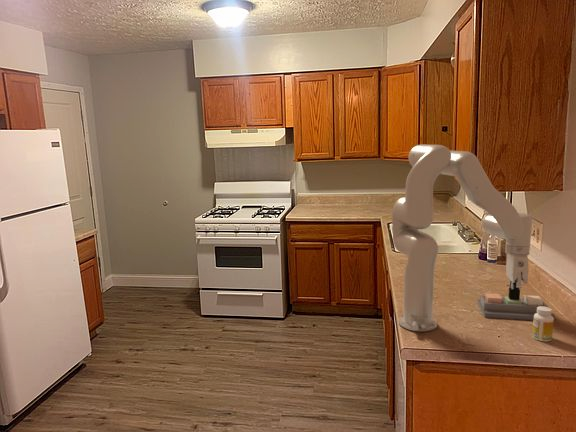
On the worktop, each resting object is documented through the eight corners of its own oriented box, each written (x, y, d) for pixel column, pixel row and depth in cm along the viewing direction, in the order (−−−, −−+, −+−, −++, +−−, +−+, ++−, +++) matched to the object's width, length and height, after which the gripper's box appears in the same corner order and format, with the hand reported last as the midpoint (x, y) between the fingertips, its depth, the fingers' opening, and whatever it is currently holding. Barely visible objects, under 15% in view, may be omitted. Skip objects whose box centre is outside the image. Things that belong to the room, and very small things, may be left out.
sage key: (521, 310, 154) (522, 301, 153) (507, 309, 155) (507, 301, 154) (517, 305, 158) (518, 297, 157) (504, 304, 159) (504, 296, 158)
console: (551, 321, 148) (552, 310, 147) (484, 317, 153) (485, 306, 152) (538, 306, 161) (539, 296, 160) (477, 303, 165) (477, 293, 164)
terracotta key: (501, 307, 155) (502, 298, 154) (487, 306, 156) (488, 297, 155) (498, 302, 159) (499, 293, 159) (484, 301, 160) (485, 293, 160)
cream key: (542, 309, 152) (543, 300, 151) (527, 308, 153) (528, 300, 152) (537, 304, 156) (538, 296, 156) (523, 303, 157) (524, 295, 157)
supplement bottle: (553, 337, 137) (556, 308, 135) (549, 343, 133) (552, 313, 131) (534, 332, 140) (536, 303, 139) (529, 338, 137) (532, 309, 135)
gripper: (536, 255, 144) (532, 307, 148) (522, 243, 159) (519, 292, 162) (511, 254, 146) (507, 306, 149) (500, 243, 160) (497, 291, 164)
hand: (513, 298), depth 156 cm, fingers closed
